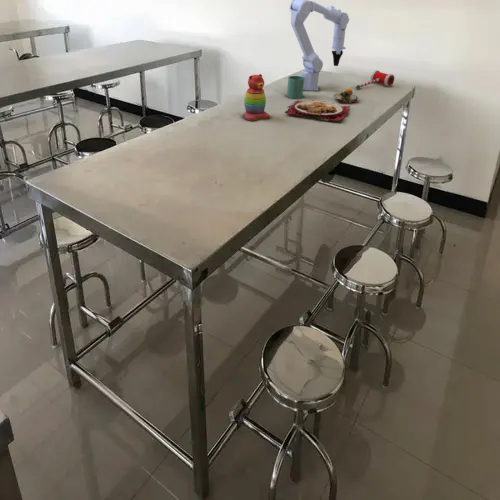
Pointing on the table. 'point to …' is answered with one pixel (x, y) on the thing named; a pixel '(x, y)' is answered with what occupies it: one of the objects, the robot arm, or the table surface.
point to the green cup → (295, 87)
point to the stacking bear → (255, 99)
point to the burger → (346, 96)
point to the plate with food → (318, 110)
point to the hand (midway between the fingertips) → (335, 65)
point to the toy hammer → (379, 79)
